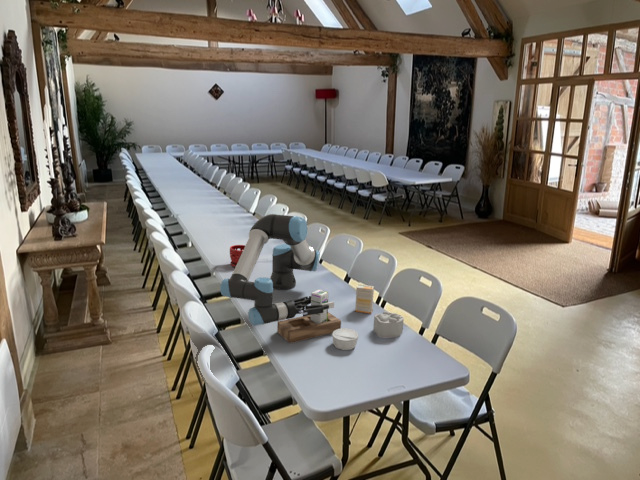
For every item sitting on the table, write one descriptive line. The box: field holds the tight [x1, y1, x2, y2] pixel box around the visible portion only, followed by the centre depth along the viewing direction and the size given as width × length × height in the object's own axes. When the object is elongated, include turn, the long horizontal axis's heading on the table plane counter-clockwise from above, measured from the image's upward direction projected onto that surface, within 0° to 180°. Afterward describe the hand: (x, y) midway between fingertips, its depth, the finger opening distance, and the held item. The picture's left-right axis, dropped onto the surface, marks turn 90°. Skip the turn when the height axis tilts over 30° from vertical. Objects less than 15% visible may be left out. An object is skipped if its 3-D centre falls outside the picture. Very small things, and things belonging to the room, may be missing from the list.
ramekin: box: [331, 327, 359, 351], centre depth 201 cm, size 11×11×5 cm
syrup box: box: [310, 288, 329, 324], centre depth 212 cm, size 6×6×14 cm
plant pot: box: [229, 244, 246, 267], centre depth 296 cm, size 13×13×12 cm
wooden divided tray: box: [276, 311, 342, 344], centre depth 212 cm, size 12×26×5 cm, turn 122°
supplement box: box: [355, 284, 375, 315], centre depth 235 cm, size 8×5×13 cm, turn 74°
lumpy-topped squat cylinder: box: [372, 310, 405, 339], centre depth 214 cm, size 10×13×9 cm
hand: (328, 301), depth 215 cm, fingers closed on syrup box, 7 cm apart
